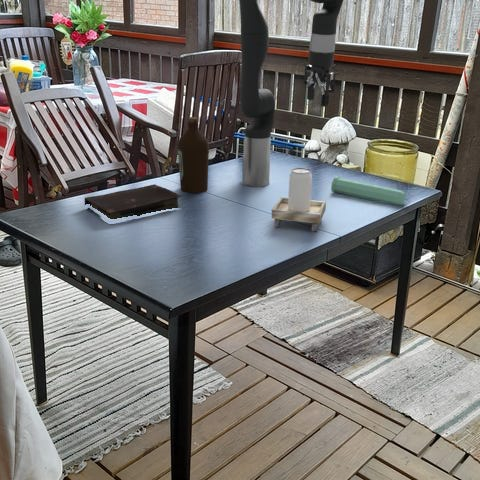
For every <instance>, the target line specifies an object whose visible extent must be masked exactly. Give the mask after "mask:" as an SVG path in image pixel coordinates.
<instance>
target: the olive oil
mask: <svg viewBox="0 0 480 480" xmlns="http://www.w3.org/2000/svg"><path fill="white" fill-rule="evenodd" d="M198 119H199V118H198V117H197V116H189V117H188V118H187V130H186V131H185V132H183V134H182V135H181V136H180V138H179V140H178V142H177V156H178V157H177V158H178V166H179V167H178V169H179V182H180V184H179V185H180V191H181V190H182V191H181V192H183V193H185V192H187V194H201V192H202V193H205V192H207V191H208V189H209V188H208V187H209V182H208V181H209V157H210V155H209V154H210V145H209V141H208V138H207V137H206V136H205V135H204V134H203V133H202V131H200V129H199V122H198Z"/></svg>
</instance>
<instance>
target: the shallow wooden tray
mask: <svg viewBox="0 0 480 480" xmlns="http://www.w3.org/2000/svg"><path fill="white" fill-rule="evenodd" d="M288 198H289V197H281V196H280V197H279V199H278V200H277V202H276V203H275V204H274V206H273V207H272V209H271V219H274V227H275V228H280V227H281V221H283V220H285V221H295V222H302V223H304V222H305V223H311V231H312V232H317V231H318V225H319V224H320V223H321V221H322V219H323V217H324V214H325V212H326V206H327V205H326V204H327V202H326V201H324V200H313V199H311V201H310V210H309V211H308V212H299V211H290V210H289V209H288ZM279 226H280V227H279ZM316 230H317V231H316Z"/></svg>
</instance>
